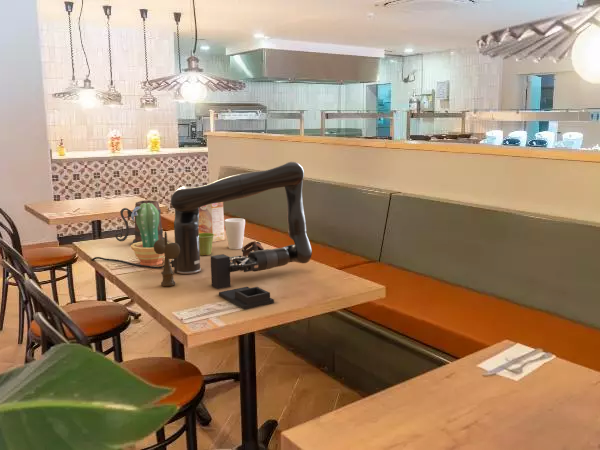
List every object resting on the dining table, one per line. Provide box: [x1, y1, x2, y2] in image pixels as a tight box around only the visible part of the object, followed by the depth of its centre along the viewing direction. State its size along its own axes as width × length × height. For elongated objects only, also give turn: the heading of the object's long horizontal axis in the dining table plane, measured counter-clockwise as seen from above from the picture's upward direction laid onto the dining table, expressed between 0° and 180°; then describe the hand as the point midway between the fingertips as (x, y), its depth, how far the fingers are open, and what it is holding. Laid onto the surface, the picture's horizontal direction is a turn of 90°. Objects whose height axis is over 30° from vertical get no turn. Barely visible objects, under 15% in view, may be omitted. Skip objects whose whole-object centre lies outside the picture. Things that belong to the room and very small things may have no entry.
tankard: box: [114, 199, 165, 246], centre depth 270 cm, size 24×17×20 cm
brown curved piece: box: [241, 240, 265, 257], centre depth 247 cm, size 12×10×8 cm
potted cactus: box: [130, 203, 170, 266], centre depth 235 cm, size 15×15×25 cm
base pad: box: [218, 286, 275, 310], centre depth 192 cm, size 18×11×4 cm, turn 37°
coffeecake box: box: [199, 202, 226, 243], centre depth 282 cm, size 15×7×20 cm, turn 43°
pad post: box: [210, 253, 231, 290], centre depth 205 cm, size 5×5×11 cm
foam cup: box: [224, 217, 246, 250], centre depth 264 cm, size 10×9×13 cm
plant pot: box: [199, 233, 214, 256], centre depth 252 cm, size 9×9×9 cm
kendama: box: [154, 231, 180, 288], centre depth 205 cm, size 6×10×20 cm, turn 43°
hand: (223, 266), depth 206 cm, fingers open, 8 cm apart
